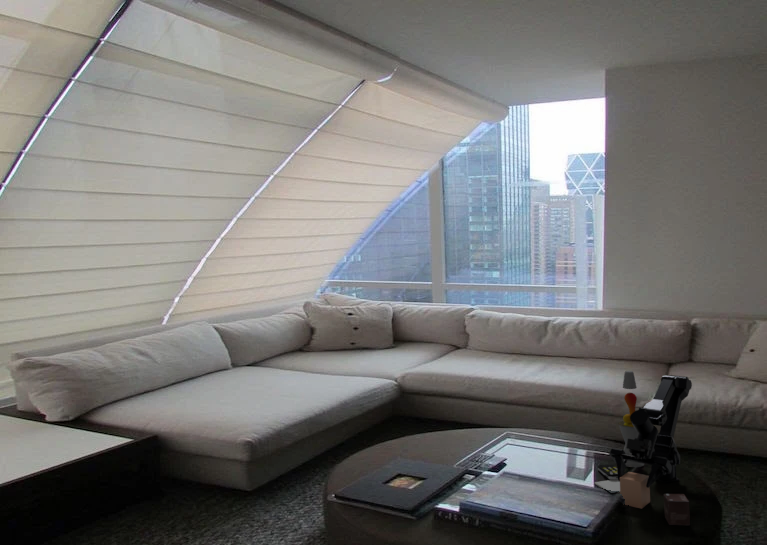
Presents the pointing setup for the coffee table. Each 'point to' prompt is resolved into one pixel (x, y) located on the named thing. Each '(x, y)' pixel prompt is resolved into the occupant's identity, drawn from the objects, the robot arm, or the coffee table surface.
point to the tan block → (635, 489)
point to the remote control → (609, 471)
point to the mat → (609, 485)
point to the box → (676, 509)
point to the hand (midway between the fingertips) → (632, 483)
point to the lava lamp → (626, 424)
